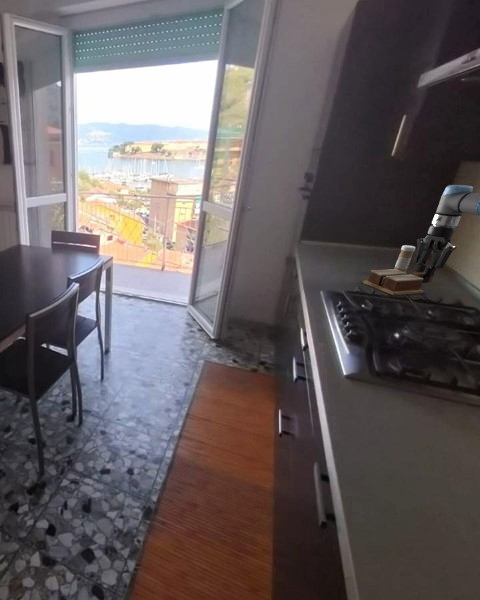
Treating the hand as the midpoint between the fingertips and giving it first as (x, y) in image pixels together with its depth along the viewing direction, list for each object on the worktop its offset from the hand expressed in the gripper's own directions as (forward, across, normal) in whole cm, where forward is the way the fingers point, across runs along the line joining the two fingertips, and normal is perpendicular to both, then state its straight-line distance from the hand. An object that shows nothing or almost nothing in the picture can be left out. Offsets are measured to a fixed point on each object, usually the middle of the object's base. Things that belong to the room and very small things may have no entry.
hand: (420, 281), depth 151 cm
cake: (+2, 0, -13) cm, 13 cm away
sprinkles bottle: (+2, -14, +6) cm, 15 cm away
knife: (0, 0, -8) cm, 8 cm away
